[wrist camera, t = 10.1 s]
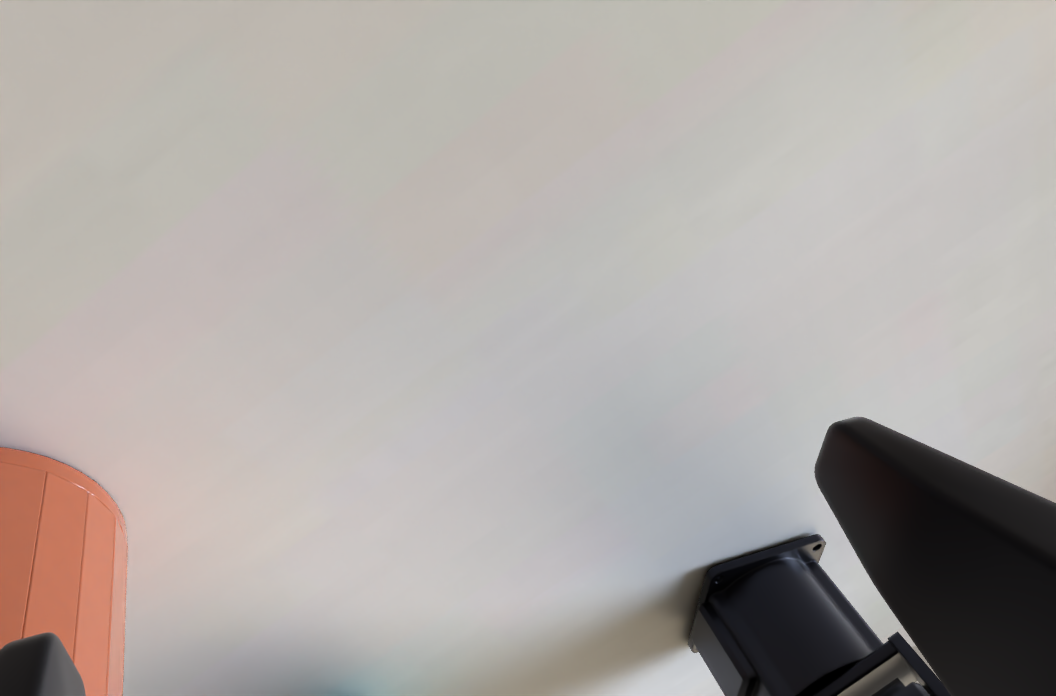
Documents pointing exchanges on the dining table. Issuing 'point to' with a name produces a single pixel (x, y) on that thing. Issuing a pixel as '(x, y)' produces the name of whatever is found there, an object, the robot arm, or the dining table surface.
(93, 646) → the terracotta cup
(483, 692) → the dining table surface
